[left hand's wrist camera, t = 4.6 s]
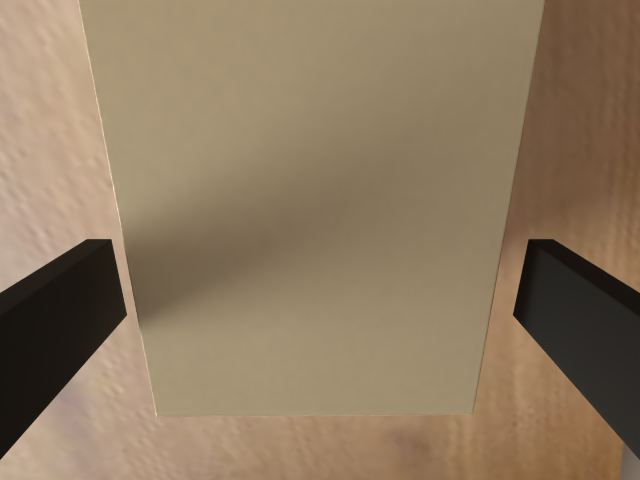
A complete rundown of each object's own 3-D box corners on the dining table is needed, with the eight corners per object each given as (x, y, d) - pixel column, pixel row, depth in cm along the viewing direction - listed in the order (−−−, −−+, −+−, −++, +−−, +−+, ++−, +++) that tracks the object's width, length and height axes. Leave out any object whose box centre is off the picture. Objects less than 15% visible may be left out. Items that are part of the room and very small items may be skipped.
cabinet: (176, -207, 15) (-62, -728, 5) (450, -205, 15) (673, -714, 5) (223, 283, 22) (155, 417, 13) (407, 282, 22) (473, 415, 13)
